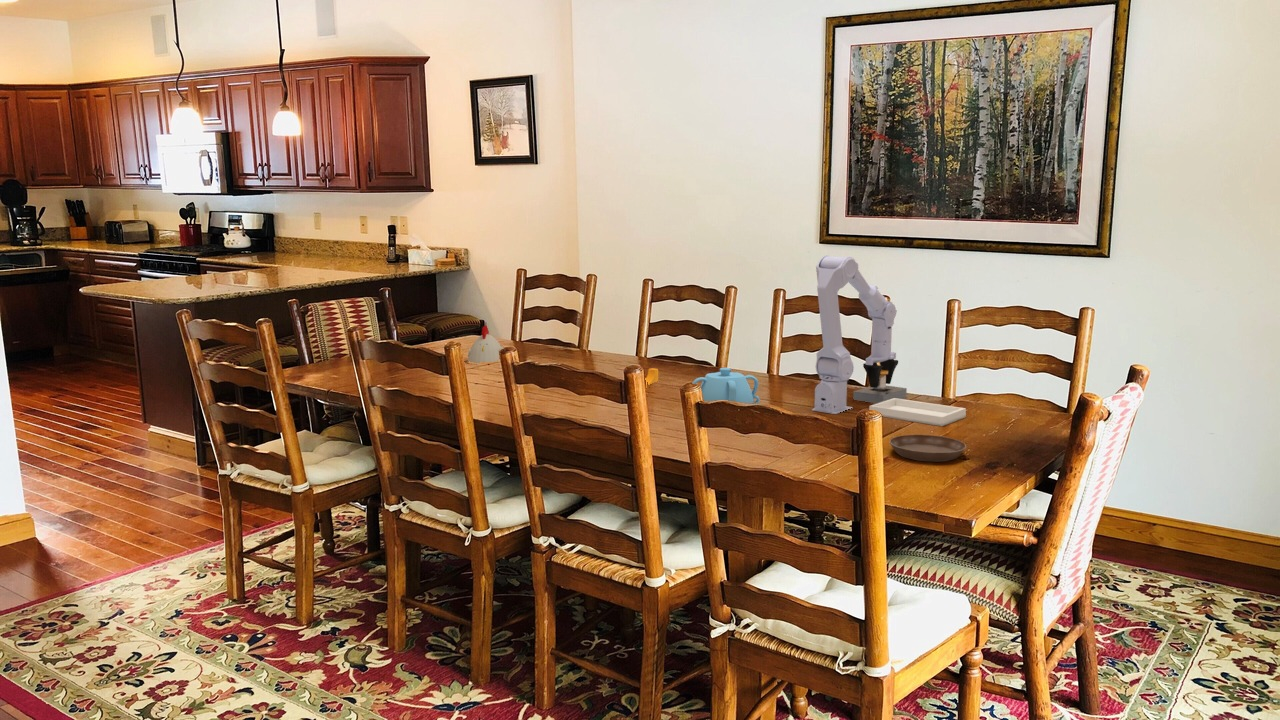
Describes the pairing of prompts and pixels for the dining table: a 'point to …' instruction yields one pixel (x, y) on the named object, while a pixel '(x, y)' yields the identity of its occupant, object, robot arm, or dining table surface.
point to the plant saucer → (927, 447)
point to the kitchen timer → (484, 348)
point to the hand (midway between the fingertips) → (880, 385)
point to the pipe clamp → (652, 376)
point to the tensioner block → (879, 394)
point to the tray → (919, 411)
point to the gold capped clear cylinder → (882, 381)
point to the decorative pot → (728, 386)
